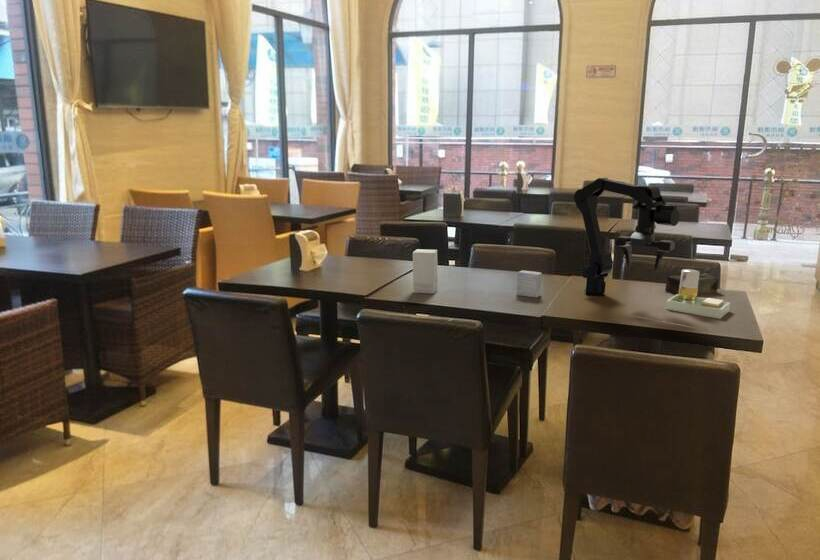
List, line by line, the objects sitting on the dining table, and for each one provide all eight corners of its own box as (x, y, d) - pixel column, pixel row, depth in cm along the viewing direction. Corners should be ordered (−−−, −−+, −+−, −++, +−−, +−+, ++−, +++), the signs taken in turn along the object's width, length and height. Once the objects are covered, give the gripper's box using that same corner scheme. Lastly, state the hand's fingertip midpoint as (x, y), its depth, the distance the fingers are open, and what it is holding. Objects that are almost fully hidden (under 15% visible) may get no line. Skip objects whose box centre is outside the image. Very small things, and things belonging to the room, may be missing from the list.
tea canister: (684, 311, 215) (689, 273, 212) (673, 306, 221) (677, 269, 218) (699, 309, 217) (703, 272, 214) (687, 305, 222) (691, 268, 219)
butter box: (700, 313, 213) (701, 301, 212) (706, 308, 218) (707, 297, 217) (716, 316, 210) (718, 304, 209) (722, 311, 215) (723, 300, 214)
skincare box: (437, 290, 241) (438, 249, 237) (433, 294, 235) (434, 252, 231) (416, 288, 243) (416, 248, 239) (411, 292, 237) (412, 251, 233)
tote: (665, 310, 218) (666, 300, 217) (676, 303, 226) (677, 294, 225) (720, 320, 207) (721, 309, 207) (728, 312, 216) (730, 302, 215)
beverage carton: (718, 293, 243) (720, 276, 241) (679, 297, 236) (681, 280, 234) (701, 288, 250) (703, 271, 249) (663, 292, 243) (665, 275, 241)
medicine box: (540, 295, 235) (542, 272, 233) (536, 298, 232) (538, 274, 230) (520, 292, 239) (521, 269, 237) (516, 295, 235) (517, 272, 233)
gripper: (610, 222, 218) (607, 267, 222) (666, 228, 207) (662, 275, 210) (622, 219, 227) (619, 263, 230) (677, 224, 215) (672, 269, 219)
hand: (642, 267), depth 222 cm, fingers open, 9 cm apart
